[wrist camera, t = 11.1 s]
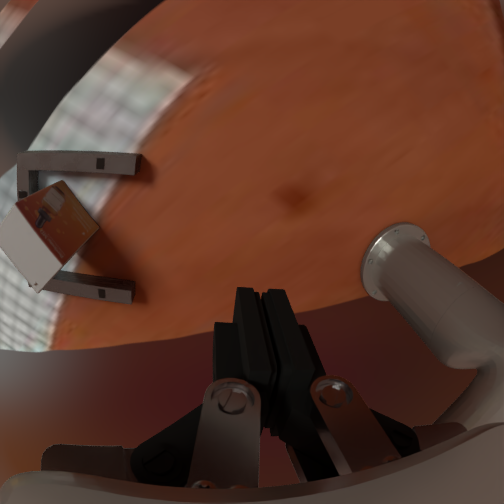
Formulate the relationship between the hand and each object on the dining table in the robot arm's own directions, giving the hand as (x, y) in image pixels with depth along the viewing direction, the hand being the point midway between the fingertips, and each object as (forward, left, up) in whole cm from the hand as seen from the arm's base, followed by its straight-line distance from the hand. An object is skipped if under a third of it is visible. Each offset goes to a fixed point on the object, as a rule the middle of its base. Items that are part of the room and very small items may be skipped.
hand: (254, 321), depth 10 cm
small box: (+19, +6, -24) cm, 31 cm away
